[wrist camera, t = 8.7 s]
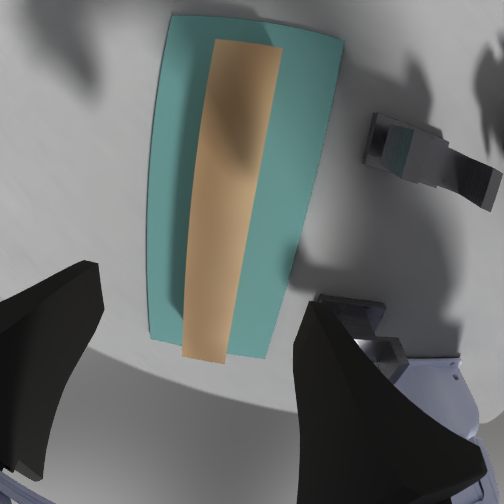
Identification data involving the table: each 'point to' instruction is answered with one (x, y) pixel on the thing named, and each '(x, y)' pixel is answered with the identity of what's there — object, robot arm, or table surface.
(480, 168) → the hook standards
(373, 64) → the table surface
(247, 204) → the oak bar
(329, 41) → the teal mat
